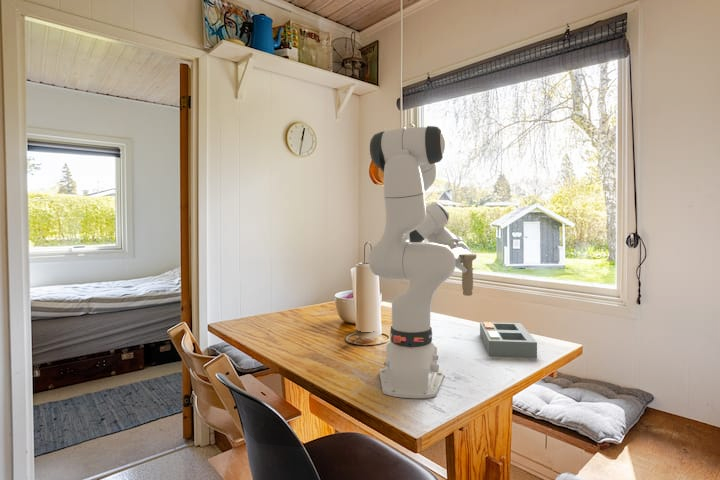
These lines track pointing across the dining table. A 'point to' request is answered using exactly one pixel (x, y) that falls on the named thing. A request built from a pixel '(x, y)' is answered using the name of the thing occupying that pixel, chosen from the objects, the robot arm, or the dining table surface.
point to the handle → (467, 273)
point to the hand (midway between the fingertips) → (469, 271)
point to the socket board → (507, 340)
